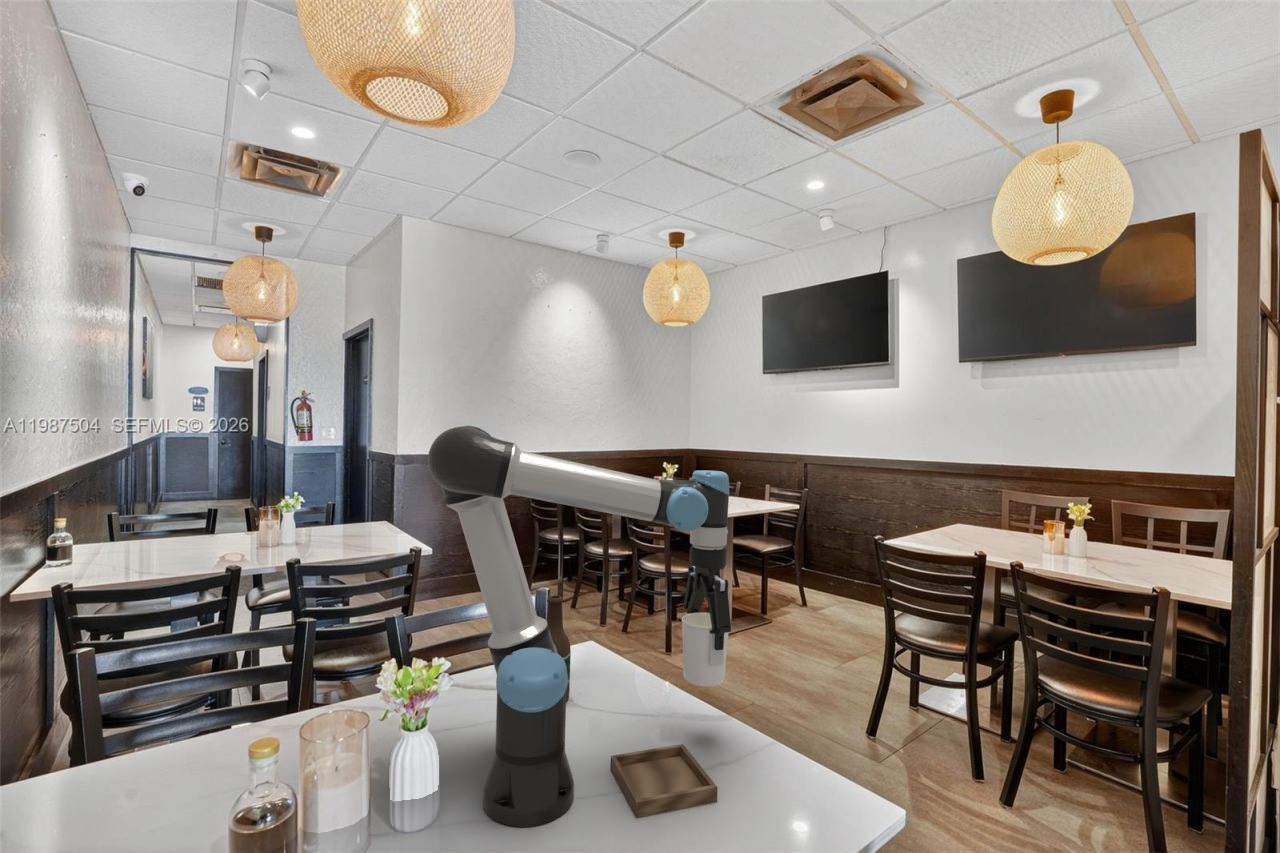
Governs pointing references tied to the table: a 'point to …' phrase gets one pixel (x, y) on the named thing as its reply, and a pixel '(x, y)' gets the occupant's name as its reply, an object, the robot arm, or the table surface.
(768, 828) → the table surface
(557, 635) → the beer bottle
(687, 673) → the candle holder
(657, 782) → the tray
